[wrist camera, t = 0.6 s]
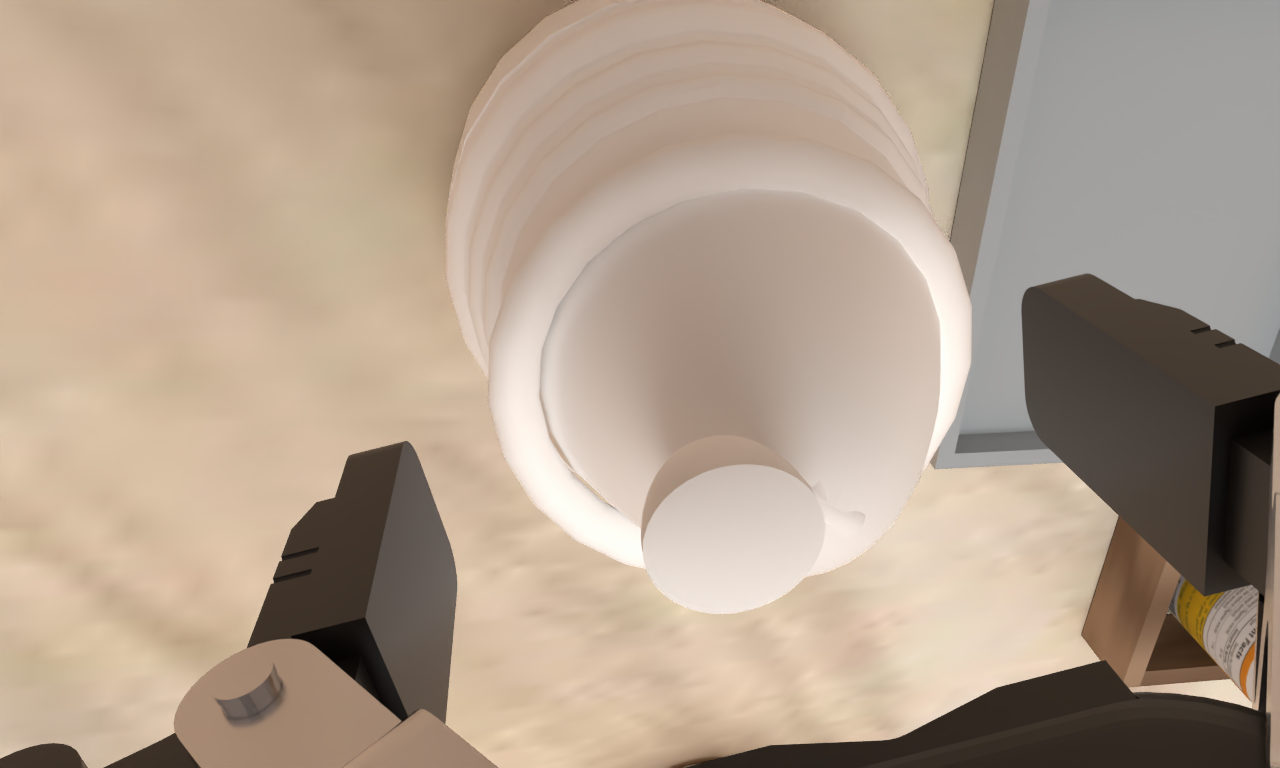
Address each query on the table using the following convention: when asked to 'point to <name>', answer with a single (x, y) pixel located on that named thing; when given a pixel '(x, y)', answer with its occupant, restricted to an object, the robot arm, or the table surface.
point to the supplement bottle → (1221, 628)
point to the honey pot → (705, 292)
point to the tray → (1115, 183)
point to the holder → (1142, 618)
